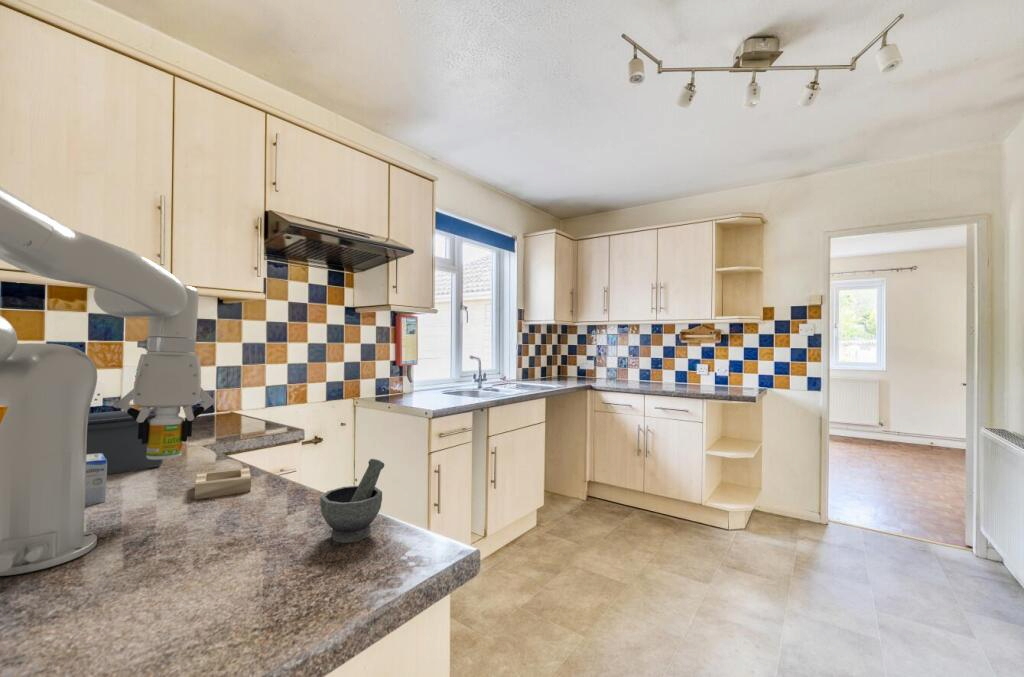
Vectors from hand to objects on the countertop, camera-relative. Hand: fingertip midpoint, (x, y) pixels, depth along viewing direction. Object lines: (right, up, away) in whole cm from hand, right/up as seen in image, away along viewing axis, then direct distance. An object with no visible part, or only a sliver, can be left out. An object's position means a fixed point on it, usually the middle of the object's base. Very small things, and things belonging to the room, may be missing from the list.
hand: (165, 441), depth 87 cm
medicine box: (-19, -13, +5) cm, 24 cm away
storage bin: (-33, -14, +27) cm, 45 cm away
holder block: (+3, -14, +13) cm, 19 cm away
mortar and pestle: (+40, -14, -10) cm, 43 cm away
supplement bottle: (0, -3, 0) cm, 3 cm away
